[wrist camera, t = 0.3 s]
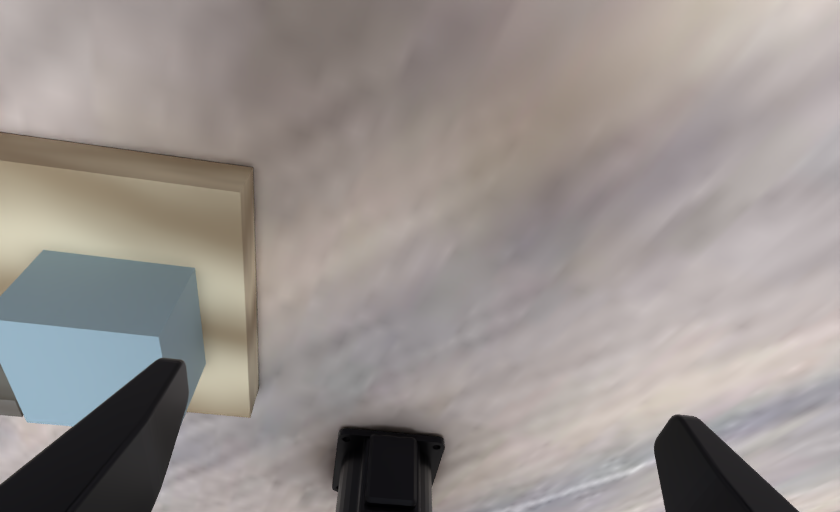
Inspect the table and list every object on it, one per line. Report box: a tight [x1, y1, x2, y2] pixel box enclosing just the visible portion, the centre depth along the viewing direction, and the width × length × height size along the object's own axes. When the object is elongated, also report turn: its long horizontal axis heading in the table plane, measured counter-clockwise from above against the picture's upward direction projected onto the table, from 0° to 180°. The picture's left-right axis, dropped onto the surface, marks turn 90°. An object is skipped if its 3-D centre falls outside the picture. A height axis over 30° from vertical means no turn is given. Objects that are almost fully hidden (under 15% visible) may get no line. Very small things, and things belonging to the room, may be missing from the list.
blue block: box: [0, 250, 206, 426], centre depth 22 cm, size 6×6×4 cm
